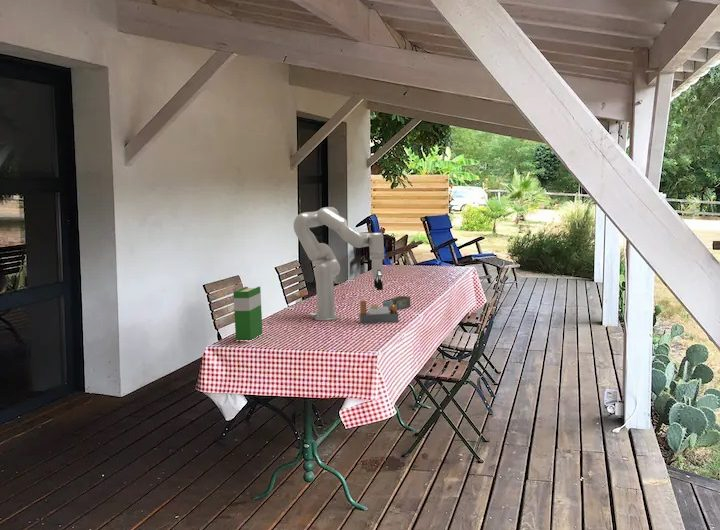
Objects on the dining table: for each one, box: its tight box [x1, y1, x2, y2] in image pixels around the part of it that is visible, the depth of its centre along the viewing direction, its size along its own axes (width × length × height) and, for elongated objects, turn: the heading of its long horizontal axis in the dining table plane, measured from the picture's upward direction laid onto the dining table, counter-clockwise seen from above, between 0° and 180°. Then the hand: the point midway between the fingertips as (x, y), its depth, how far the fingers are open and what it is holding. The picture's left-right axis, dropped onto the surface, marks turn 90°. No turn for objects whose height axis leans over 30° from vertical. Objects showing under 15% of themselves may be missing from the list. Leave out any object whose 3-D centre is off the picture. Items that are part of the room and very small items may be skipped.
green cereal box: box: [232, 286, 264, 341], centre depth 344 cm, size 18×7×24 cm, turn 170°
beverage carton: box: [382, 295, 411, 312], centre depth 418 cm, size 8×19×7 cm, turn 145°
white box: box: [368, 304, 390, 315], centre depth 376 cm, size 10×5×4 cm, turn 95°
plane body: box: [358, 300, 400, 324], centre depth 377 cm, size 20×7×12 cm, turn 95°
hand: (378, 288), depth 375 cm, fingers open, 9 cm apart
